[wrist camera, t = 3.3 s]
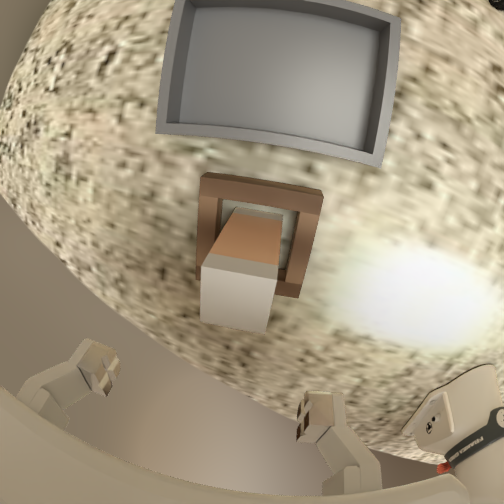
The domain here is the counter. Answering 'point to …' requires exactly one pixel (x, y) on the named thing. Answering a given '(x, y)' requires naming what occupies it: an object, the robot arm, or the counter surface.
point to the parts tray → (282, 74)
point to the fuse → (242, 272)
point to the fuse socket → (266, 194)
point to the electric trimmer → (497, 4)
